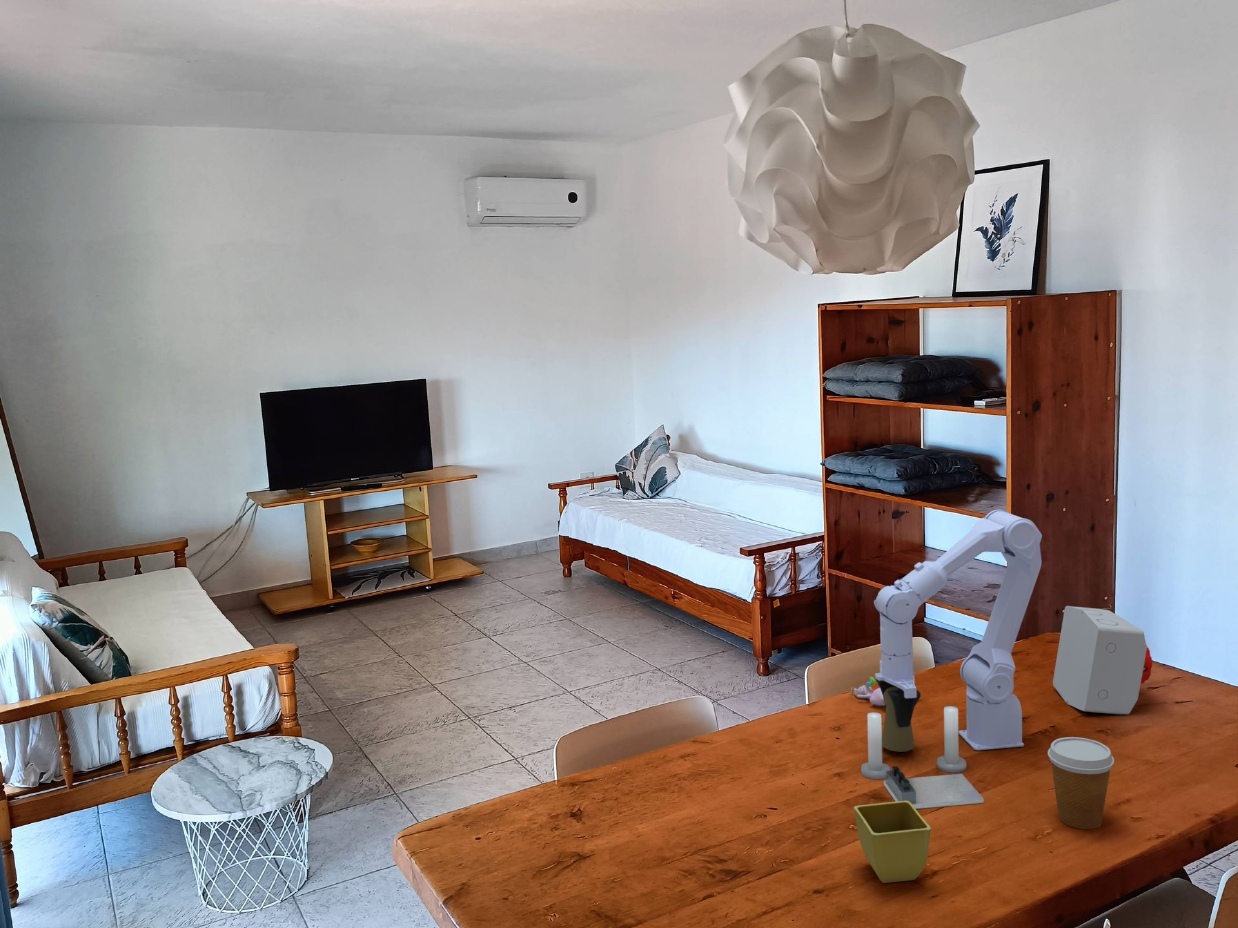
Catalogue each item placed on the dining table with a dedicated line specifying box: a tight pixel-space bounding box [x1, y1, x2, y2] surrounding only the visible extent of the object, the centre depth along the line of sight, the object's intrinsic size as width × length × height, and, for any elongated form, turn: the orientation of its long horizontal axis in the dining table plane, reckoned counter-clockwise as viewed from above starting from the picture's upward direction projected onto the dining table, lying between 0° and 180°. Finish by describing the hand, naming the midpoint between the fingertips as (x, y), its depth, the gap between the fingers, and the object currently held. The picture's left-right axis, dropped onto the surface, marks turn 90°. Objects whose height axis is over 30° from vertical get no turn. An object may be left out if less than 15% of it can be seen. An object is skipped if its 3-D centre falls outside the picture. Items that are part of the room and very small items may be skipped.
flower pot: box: [853, 801, 932, 884], centre depth 144 cm, size 9×9×9 cm
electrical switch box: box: [1052, 605, 1153, 715], centre depth 198 cm, size 15×15×20 cm
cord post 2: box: [936, 705, 967, 774], centre depth 175 cm, size 5×5×11 cm
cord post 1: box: [860, 712, 891, 781], centre depth 174 cm, size 5×5×11 cm
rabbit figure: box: [850, 676, 885, 707], centre depth 205 cm, size 6×6×15 cm
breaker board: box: [883, 765, 984, 810], centre depth 166 cm, size 14×9×4 cm, turn 93°
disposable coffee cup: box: [1047, 736, 1115, 830], centre depth 155 cm, size 10×10×12 cm
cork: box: [882, 687, 915, 753], centre depth 183 cm, size 6×6×11 cm
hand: (898, 720), depth 183 cm, fingers closed on cork, 5 cm apart
